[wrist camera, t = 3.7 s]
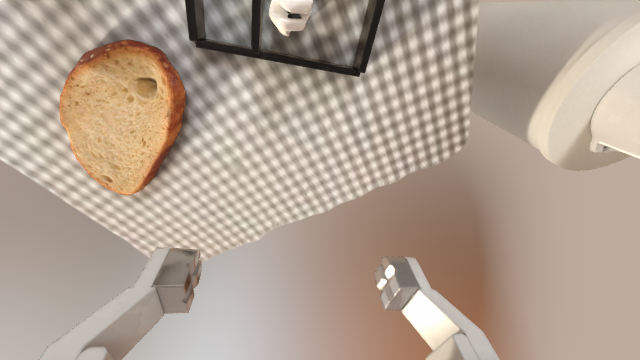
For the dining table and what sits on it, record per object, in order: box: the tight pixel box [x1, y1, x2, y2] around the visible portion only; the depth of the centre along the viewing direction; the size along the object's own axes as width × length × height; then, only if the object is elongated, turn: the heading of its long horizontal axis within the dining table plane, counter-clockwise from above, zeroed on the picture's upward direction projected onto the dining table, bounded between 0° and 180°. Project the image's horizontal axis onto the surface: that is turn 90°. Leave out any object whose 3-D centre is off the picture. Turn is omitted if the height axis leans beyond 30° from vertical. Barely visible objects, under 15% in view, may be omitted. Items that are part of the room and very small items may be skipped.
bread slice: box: [59, 40, 186, 195], centre depth 29 cm, size 18×18×4 cm
